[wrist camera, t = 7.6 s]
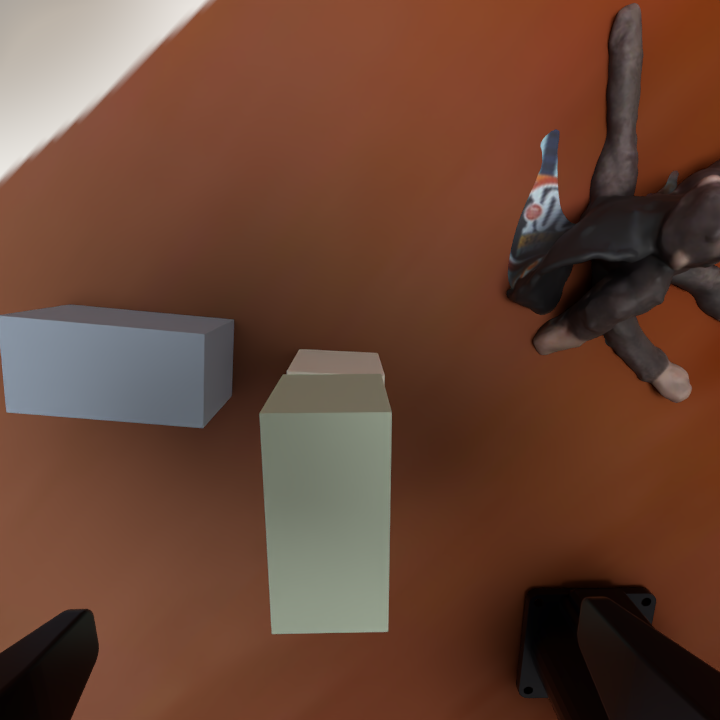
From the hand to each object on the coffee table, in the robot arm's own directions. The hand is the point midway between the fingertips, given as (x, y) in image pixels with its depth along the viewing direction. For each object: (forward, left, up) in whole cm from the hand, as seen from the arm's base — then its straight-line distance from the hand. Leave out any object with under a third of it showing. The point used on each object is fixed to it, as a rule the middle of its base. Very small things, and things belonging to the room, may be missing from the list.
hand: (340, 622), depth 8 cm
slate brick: (+2, +9, -12) cm, 15 cm away
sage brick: (-1, 0, -8) cm, 8 cm away
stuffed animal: (+8, -12, -13) cm, 19 cm away
